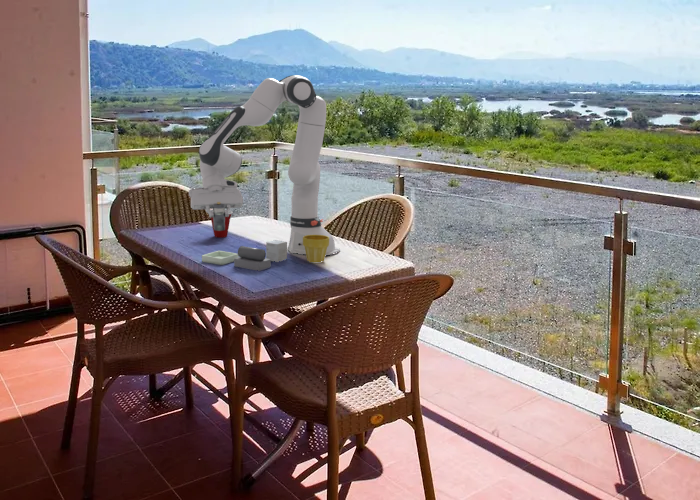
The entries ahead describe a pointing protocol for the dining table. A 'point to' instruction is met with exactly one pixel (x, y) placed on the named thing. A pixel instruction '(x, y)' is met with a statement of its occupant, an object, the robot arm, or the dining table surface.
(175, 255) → the dining table surface
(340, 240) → the dining table surface
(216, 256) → the tray
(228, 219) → the plastic cup
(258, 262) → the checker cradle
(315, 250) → the plant pot
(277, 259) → the product box
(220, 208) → the battery cell
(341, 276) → the dining table surface
